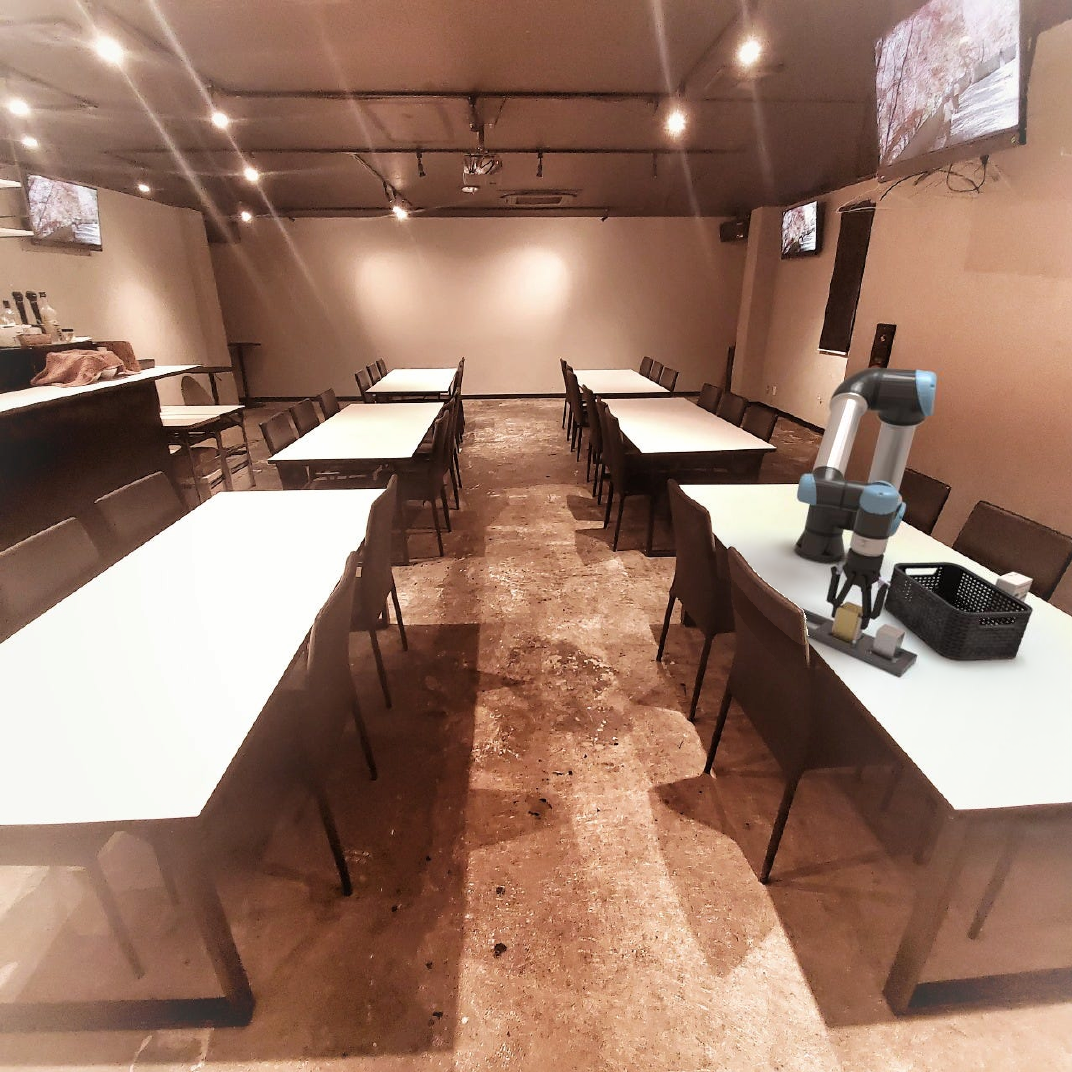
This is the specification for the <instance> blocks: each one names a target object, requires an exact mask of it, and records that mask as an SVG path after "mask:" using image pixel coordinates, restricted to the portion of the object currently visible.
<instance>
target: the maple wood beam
mask: <svg viewBox="0 0 1072 1072" xmlns="http://www.w3.org/2000/svg"><path fill="white" fill-rule="evenodd" d="M861 615H862V605H858V604H856V603H853V602H850V601H848V600H847V601H846V602H843V604H841V606H840V607H839V609H838V613H837V617H836V622H835V626H834V630H833V636H835V637H837V638H839V639H842V640H844V641H847V642H849V643H852V642H853V641H854V640H853V637H854V633H855V630H856V626H857V622H858V618H859V617H860V616H861Z"/></svg>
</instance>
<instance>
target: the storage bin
mask: <svg viewBox="0 0 1072 1072" xmlns="http://www.w3.org/2000/svg"><path fill="white" fill-rule="evenodd" d="M909 569H910V570H912V569H913V570H914V569H915V570H919V569H923V570H925V569H936V570H935V571H934V572H933V573H931V574H930V573H928V574H927V573H925V574H923V573H922V574H907V570H909ZM890 582H891V583H892V585H891V586H890V587H889V588H888V590H887V592H886V596H885V599H884V603H883V607H884V609H885V610H886V611H887V612H889V614H891V615H892V616H894V617H895V618H896V619H897V620H898V621H900V622H901V623H902V624H903V625H905V626H906V627H907V628H908V629H909V630H911V631H912V632H914V634H915V635H917V636H918V637H919V638H920V639H921V640H923V641H924V642H925V643H927V644H928V645H929V646H930V647H931V648H933V649H934V651H936V652H938V653H939V654H940V655H942V656H945V657H946V658H950V659H953V660H986V659H987V660H988V659H990V660H991V659H992V660H993V659H1012V658H1016V656H1017V654H1018V652H1019V649H1020V646H1021V644H1022V640H1023V638H1024V637H1025V636H1024V635H1025V632H1026V630H1027V626H1028V623H1029V622H1030V618H1031V615H1032V613H1033V612H1034V608H1033V607H1032V606H1031V605H1030V604H1027V603H1026V602H1025V601H1024V602H1023V601H1021V600H1019V599H1018V598H1016V597H1014V596H1012V595H1011V594H1009V593H1007V592H1006V591H1004V590H1002V589H1001V588H999V587H997V586H996V585H995V584H994V583H993V582H990V581H989V580H987V579H985V578H984V577H981V576H980V575H979V574H977V573H975V572H973V571H972V570H970V569H969V568H967V567H965V566H962V565H961V564H958V563H954V562H949V561H939V562H938V561H937V562H936V561H934V562H933V561H932V562H931V561H930V562H897V563H894V565H893V568H892V573H891V576H890ZM993 592H994V593H993ZM997 594H998V595H997ZM992 595H993V596H992ZM1000 596H1001V597H1002V598H1001V597H1000ZM995 597H996V598H997V599H996V598H995ZM990 598H991V599H990ZM1005 599H1006V600H1005ZM999 600H1001V601H999ZM994 601H996V602H994ZM1009 601H1010V602H1009ZM989 602H990V603H989ZM1003 602H1004V603H1005V604H1004V603H1003ZM998 603H999V604H1000V605H999V604H998ZM1013 604H1015V605H1013ZM1008 605H1009V606H1008ZM1002 606H1004V607H1002ZM1017 606H1018V607H1019V608H1018V607H1017ZM997 607H998V608H997ZM1012 607H1013V608H1012ZM992 608H993V609H992ZM1006 608H1007V609H1008V610H1007V609H1006ZM987 609H988V610H987ZM1001 609H1002V610H1001ZM995 610H996V611H995ZM1016 610H1018V612H1017V611H1016ZM990 611H991V612H990ZM1011 611H1012V612H1011ZM1013 617H1015V618H1013ZM994 618H995V619H994ZM1008 618H1009V619H1010V620H1009V619H1008ZM1003 619H1004V620H1003ZM998 620H999V621H998Z"/></svg>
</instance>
